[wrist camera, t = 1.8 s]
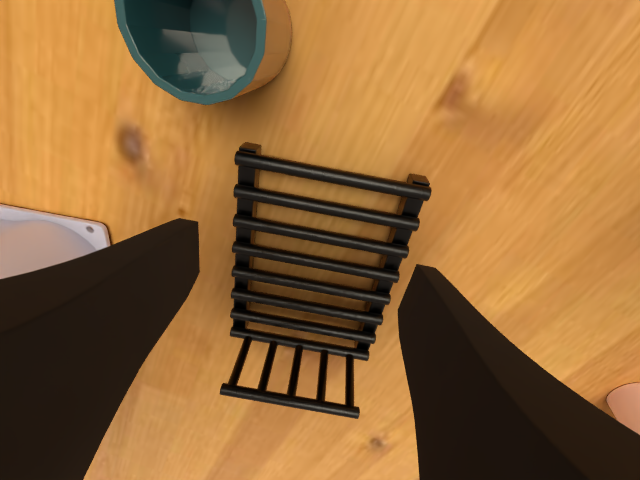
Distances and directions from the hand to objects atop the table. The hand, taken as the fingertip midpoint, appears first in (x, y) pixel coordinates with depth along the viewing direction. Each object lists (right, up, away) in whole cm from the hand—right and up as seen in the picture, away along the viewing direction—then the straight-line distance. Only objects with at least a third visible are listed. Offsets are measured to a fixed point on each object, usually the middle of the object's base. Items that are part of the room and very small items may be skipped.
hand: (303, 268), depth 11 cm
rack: (0, -1, +12) cm, 12 cm away
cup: (-4, +11, +5) cm, 13 cm away
